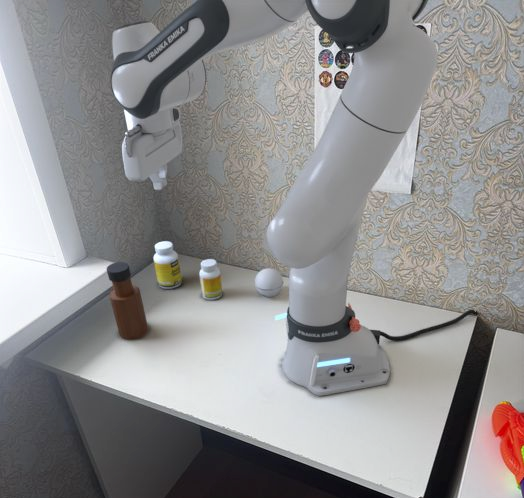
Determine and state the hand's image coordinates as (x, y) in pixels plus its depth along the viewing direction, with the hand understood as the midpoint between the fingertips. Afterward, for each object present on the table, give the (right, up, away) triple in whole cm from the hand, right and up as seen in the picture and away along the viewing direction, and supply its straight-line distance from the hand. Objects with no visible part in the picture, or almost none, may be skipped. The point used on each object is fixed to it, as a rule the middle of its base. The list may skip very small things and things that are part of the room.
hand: (160, 187), depth 108 cm
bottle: (-9, -31, +12) cm, 34 cm away
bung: (-10, -20, +4) cm, 23 cm away
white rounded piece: (+25, -21, +22) cm, 40 cm away
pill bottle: (-3, -17, +30) cm, 34 cm away
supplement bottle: (+9, -21, +24) cm, 33 cm away
